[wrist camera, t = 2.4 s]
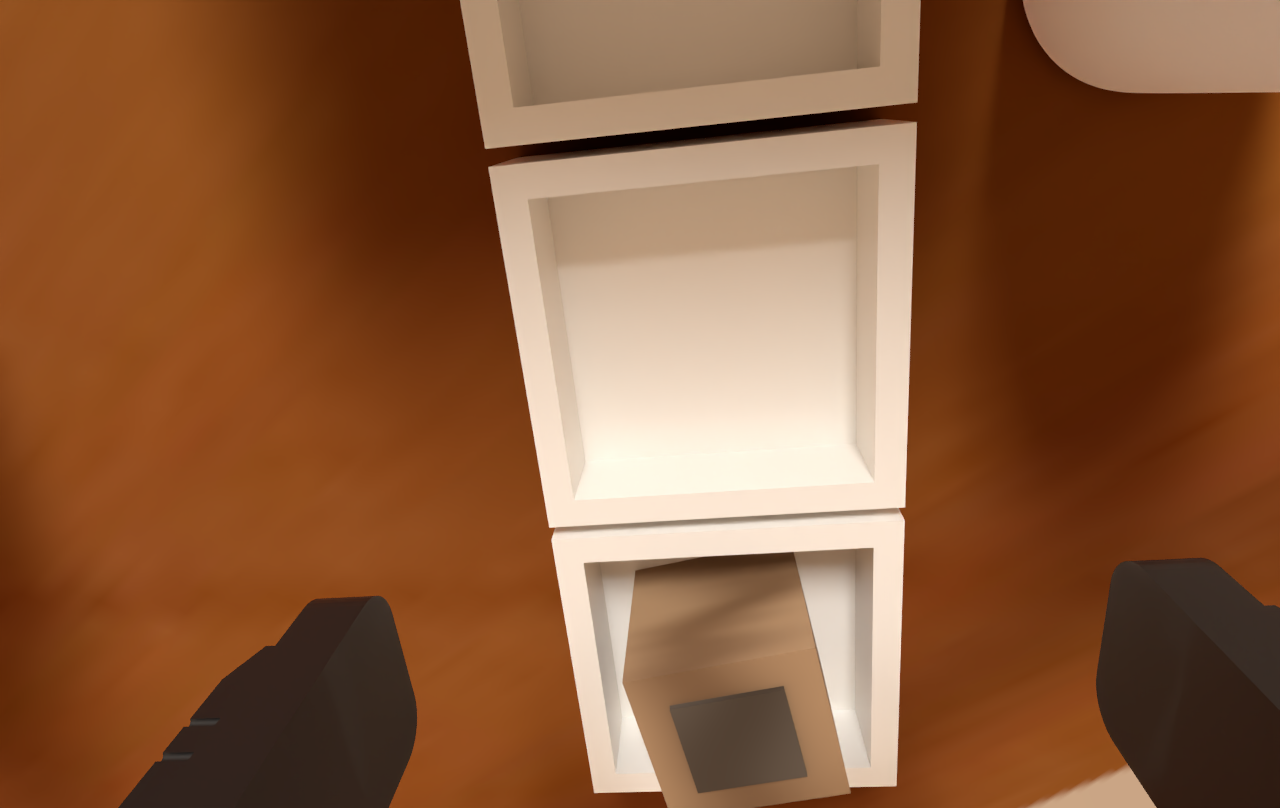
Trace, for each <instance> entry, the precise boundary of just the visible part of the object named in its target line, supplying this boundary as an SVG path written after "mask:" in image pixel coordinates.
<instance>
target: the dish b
mask: <svg viewBox="0 0 1280 808" xmlns="http://www.w3.org/2000/svg"><path fill="white" fill-rule="evenodd" d="M916 136H917V122H910V121H899V120H889V119H877V120H867V121H858V122H848V123H839V124H829V125H820V126H811V127H801V128H792V129H782V130H773V131H763V132H754V133H744V134H735V135H726V136H716V137H707V138H697V139H688V140H678V141H669V142H659V143H650V144H641V145H631V146H622V147H612V148H603V149H593V150H584V151H574V152H565V153H556V154H546V155H537V156H527V157H518V158H515V159H512V160H509V161H506V162H502V163H499V164H496V165H493V166H490V167H488V169H489V175H490V181H491V187H492V193H493V198H494V204H495V210H496V216H497V222H498V228H499V234H500V240H501V246H502V251H503V257H504V263H505V269H506V275H507V281H508V287H509V293H510V299H511V305H512V310H513V316H514V322H515V328H516V334H517V340H518V346H519V352H520V358H521V363H522V369H523V375H524V381H525V387H526V393H527V399H528V405H529V411H530V417H531V422H532V428H533V434H534V440H535V446H536V452H537V458H538V464H539V470H540V475H541V481H542V487H543V493H544V499H545V505H546V511H547V517H548V523H549V528H551V527H569V526H586V525H604V524H621V523H639V522H657V521H674V520H692V519H709V518H727V517H744V516H762V515H779V514H797V513H814V512H832V511H849V510H867V509H884V508H902V507H905V493H906V461H907V428H908V396H909V363H910V331H911V298H912V266H913V234H914V201H915V169H916Z"/></svg>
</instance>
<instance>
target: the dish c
mask: <svg viewBox="0 0 1280 808" xmlns="http://www.w3.org/2000/svg"><path fill="white" fill-rule="evenodd" d="M904 526H905V520H904V518H903V516H902V514H901V512H900V510H899V508H884V509H867V510H849V511H832V512H814V513H797V514H779V515H762V516H744V517H727V518H709V519H692V520H674V521H657V522H639V523H621V524H604V525H586V526H569V527H555V530H554V534H553V537H552V546H553V552H554V558H555V564H556V570H557V576H558V582H559V587H560V593H561V599H562V605H563V611H564V617H565V623H566V629H567V635H568V640H569V646H570V652H571V658H572V664H573V670H574V676H575V682H576V688H577V694H578V699H579V705H580V711H581V717H582V723H583V729H584V735H585V741H586V747H587V752H588V758H589V764H590V770H591V776H592V782H593V788H594V793H611V792H656V791H662V790H661V788H660V785H659V782H658V779H657V777H656V774H655V771H654V768H653V766H652V763H651V760H650V758H649V755H648V752H647V749H646V747H645V744H644V741H643V738H642V736H641V733H640V730H639V727H638V725H637V722H636V719H635V716H634V714H633V711H632V708H631V705H630V703H629V700H628V697H627V695H626V692H625V689H624V686H623V684H622V680H623V672H624V663H625V655H626V646H627V638H628V629H629V621H630V612H631V604H632V595H633V587H634V578H635V571H636V570H641V569H646V568H650V567H655V566H660V565H665V564H670V563H675V562H680V561H685V560H690V559H694V558H699V557H704V556H724V555H743V554H762V553H781V552H794V555H795V559H796V563H797V568H798V572H799V576H800V580H801V584H802V588H803V592H804V596H805V600H806V604H807V608H808V613H809V617H810V621H811V625H812V629H813V633H814V637H815V641H816V645H817V649H818V654H819V658H820V662H821V666H822V670H823V675H824V679H825V683H826V687H827V692H828V696H829V700H830V705H831V709H832V713H833V718H834V722H835V726H836V731H837V735H838V739H839V744H840V748H841V752H842V757H843V761H844V765H845V770H846V774H847V778H848V783H849V787H880V786H896V785H897V753H898V720H899V688H900V655H901V623H902V590H903V558H904Z"/></svg>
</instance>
